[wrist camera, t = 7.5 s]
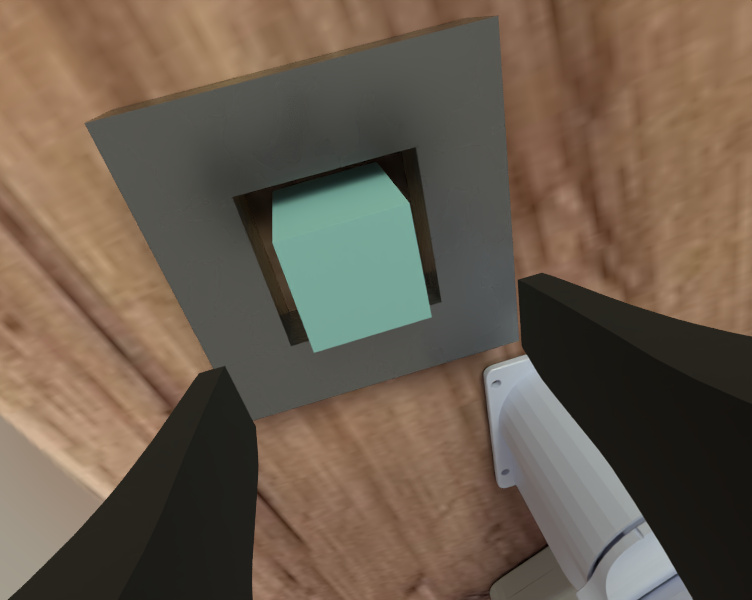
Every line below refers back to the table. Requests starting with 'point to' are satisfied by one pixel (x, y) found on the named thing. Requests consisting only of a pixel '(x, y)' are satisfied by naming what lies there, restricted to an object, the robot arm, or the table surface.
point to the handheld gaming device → (535, 581)
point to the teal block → (349, 255)
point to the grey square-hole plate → (316, 155)
